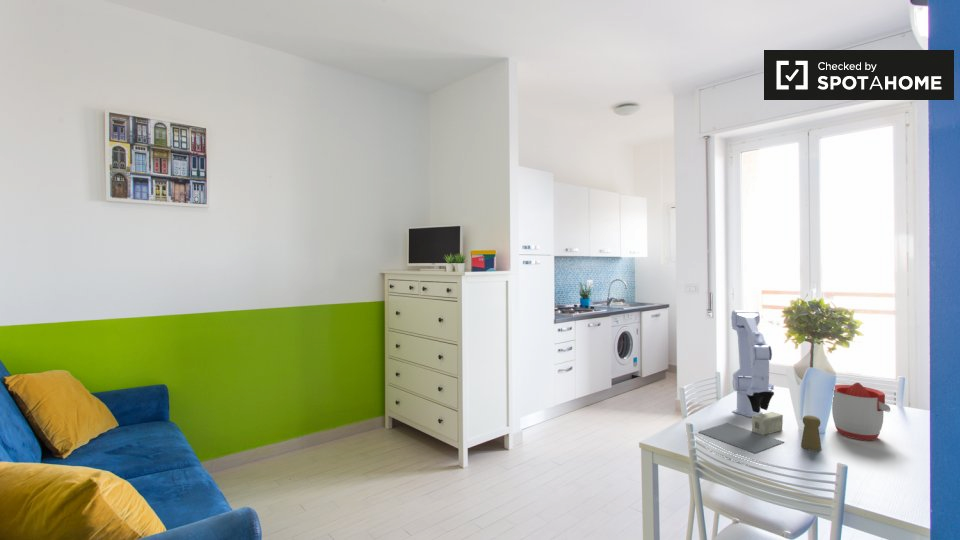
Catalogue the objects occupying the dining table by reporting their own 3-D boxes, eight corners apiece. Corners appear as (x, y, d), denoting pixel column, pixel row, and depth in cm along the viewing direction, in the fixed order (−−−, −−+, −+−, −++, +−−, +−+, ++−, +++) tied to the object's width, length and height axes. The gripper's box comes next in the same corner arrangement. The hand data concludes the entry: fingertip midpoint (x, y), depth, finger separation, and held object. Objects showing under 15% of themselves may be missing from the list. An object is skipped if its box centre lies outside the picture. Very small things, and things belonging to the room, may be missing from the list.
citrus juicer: (880, 448, 165) (881, 392, 164) (823, 432, 180) (824, 381, 179) (897, 438, 174) (898, 385, 173) (841, 424, 188) (842, 374, 187)
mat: (727, 423, 191) (727, 422, 191) (784, 442, 172) (784, 441, 172) (698, 432, 182) (698, 431, 182) (755, 453, 163) (755, 452, 163)
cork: (815, 452, 164) (816, 420, 163) (797, 445, 169) (797, 415, 168) (825, 448, 166) (825, 417, 166) (806, 442, 172) (807, 412, 171)
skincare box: (751, 431, 182) (771, 427, 187) (762, 435, 178) (782, 430, 183) (752, 415, 181) (771, 411, 187) (763, 418, 177) (783, 414, 183)
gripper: (759, 381, 175) (759, 417, 176) (781, 375, 182) (781, 410, 183) (741, 376, 181) (741, 411, 182) (763, 371, 188) (763, 404, 189)
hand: (760, 410), depth 183 cm, fingers open, 5 cm apart
